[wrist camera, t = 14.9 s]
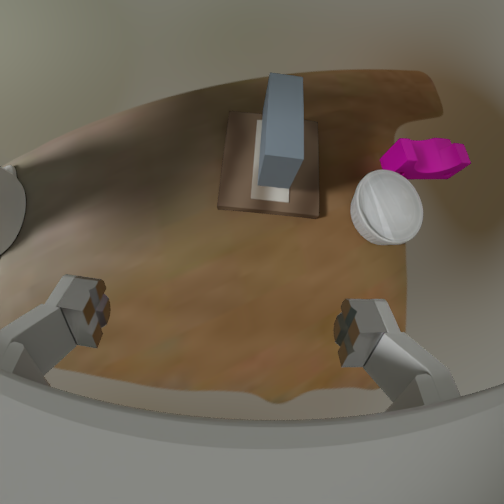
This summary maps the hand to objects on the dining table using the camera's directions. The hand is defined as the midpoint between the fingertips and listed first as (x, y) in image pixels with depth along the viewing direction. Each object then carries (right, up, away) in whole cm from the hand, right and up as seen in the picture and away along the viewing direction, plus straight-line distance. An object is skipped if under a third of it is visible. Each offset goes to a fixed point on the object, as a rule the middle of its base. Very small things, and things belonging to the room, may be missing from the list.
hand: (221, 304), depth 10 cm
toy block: (+30, +17, +37) cm, 51 cm away
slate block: (+4, +16, +29) cm, 33 cm away
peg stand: (+4, +15, +34) cm, 37 cm away
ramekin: (+20, +7, +34) cm, 40 cm away
